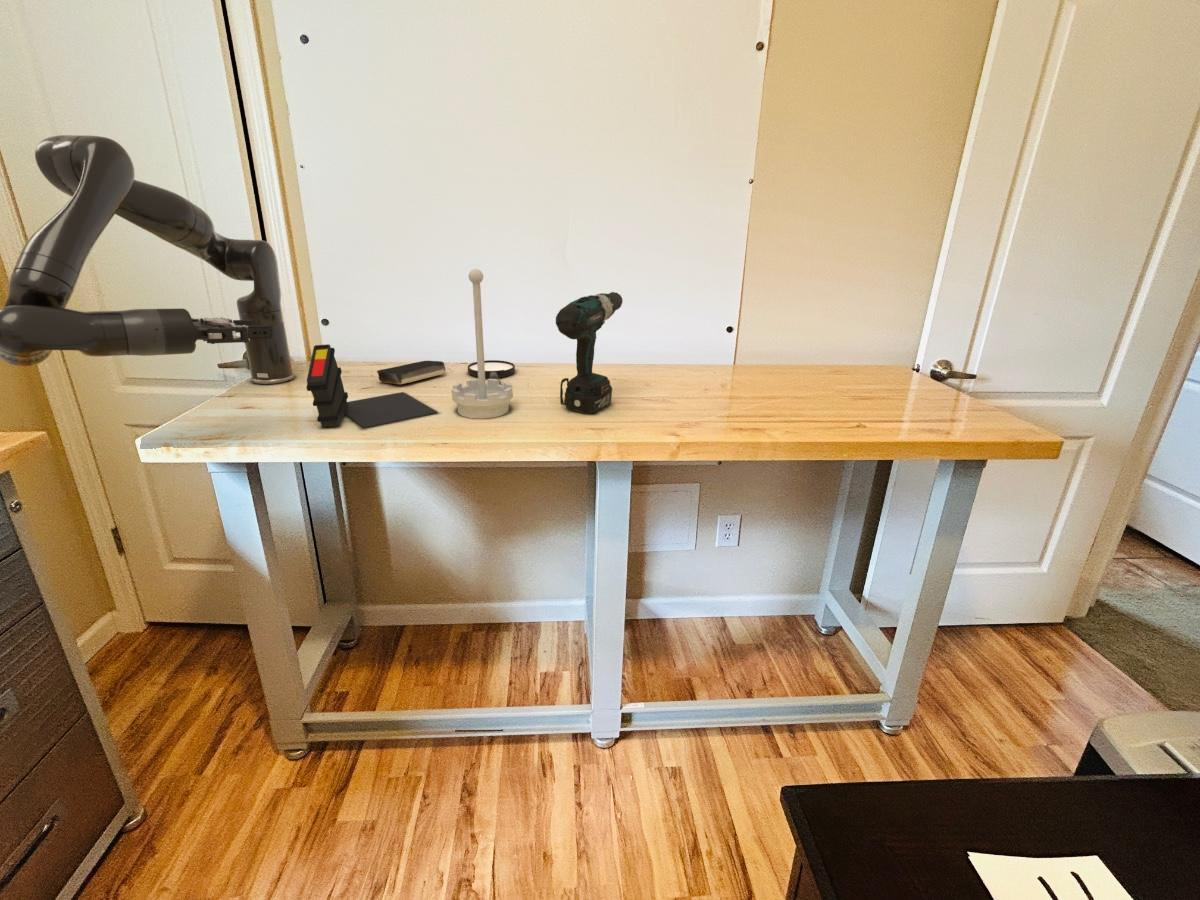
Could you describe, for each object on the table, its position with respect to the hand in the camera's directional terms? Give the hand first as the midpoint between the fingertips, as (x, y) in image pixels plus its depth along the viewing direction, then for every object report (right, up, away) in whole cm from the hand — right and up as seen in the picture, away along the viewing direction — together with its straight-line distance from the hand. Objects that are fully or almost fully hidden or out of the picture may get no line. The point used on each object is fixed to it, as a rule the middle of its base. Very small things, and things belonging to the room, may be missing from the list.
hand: (263, 328), depth 111 cm
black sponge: (+14, -4, +44) cm, 46 cm away
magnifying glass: (+34, -4, +46) cm, 57 cm away
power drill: (+60, -12, +28) cm, 67 cm away
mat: (+15, -13, +21) cm, 29 cm away
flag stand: (+36, -14, +22) cm, 45 cm away
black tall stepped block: (+7, -16, +14) cm, 22 cm away
